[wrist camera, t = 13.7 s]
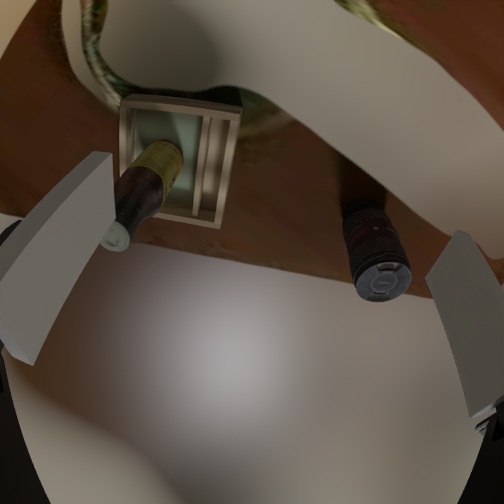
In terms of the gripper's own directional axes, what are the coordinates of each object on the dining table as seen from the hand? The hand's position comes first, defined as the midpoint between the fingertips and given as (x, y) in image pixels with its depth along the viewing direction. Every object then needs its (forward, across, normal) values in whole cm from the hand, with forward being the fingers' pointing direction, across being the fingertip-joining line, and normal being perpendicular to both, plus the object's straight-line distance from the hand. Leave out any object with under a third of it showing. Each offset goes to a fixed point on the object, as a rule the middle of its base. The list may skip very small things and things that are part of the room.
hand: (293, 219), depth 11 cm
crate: (+33, -12, -14) cm, 38 cm away
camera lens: (+33, +18, -18) cm, 42 cm away
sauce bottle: (+32, -14, -14) cm, 38 cm away
